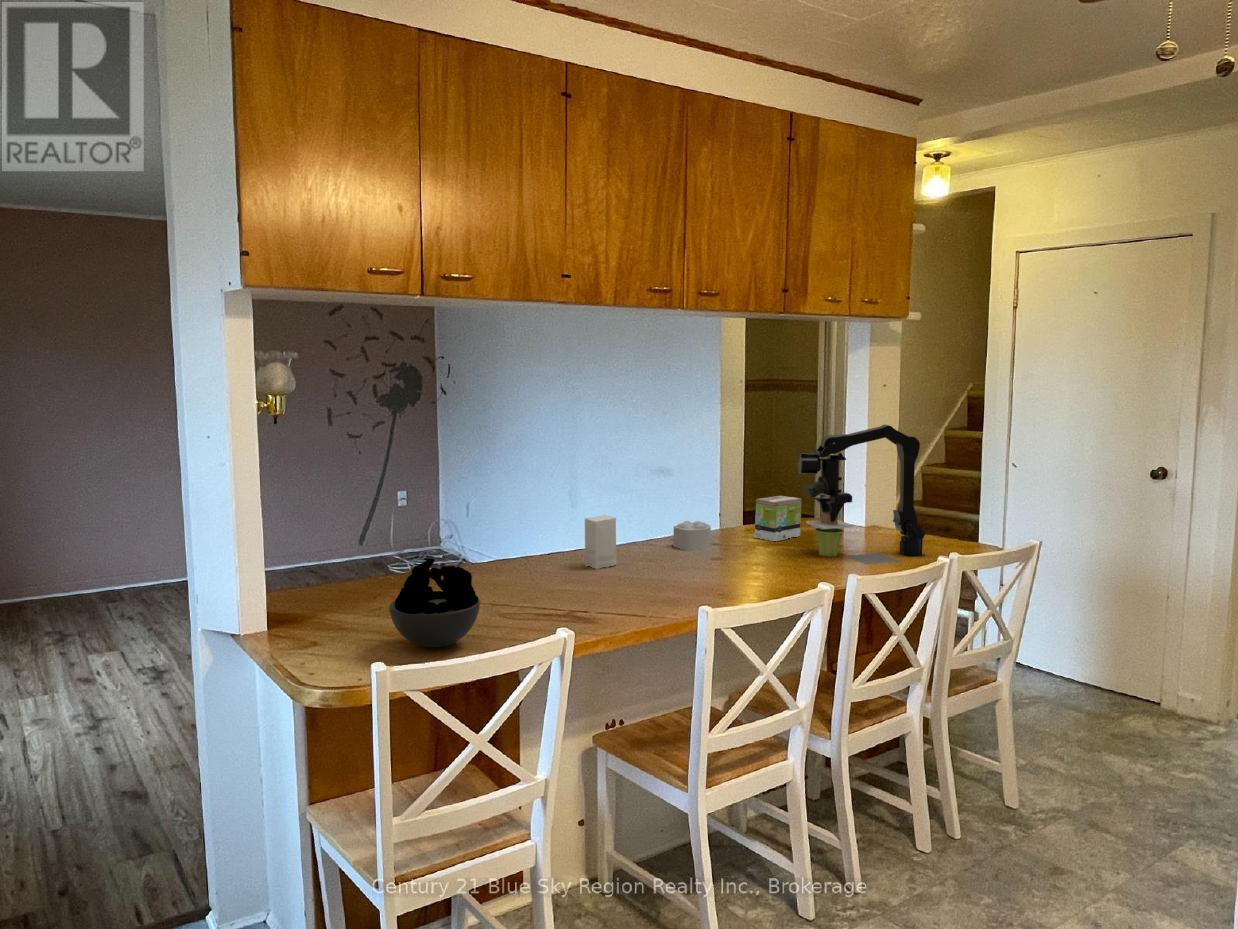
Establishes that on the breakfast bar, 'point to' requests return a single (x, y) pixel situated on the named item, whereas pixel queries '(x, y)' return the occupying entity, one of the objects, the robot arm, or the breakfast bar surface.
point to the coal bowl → (435, 606)
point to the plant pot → (828, 541)
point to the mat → (873, 558)
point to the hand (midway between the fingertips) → (829, 520)
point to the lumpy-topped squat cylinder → (692, 535)
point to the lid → (828, 522)
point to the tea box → (777, 518)
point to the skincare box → (600, 541)
